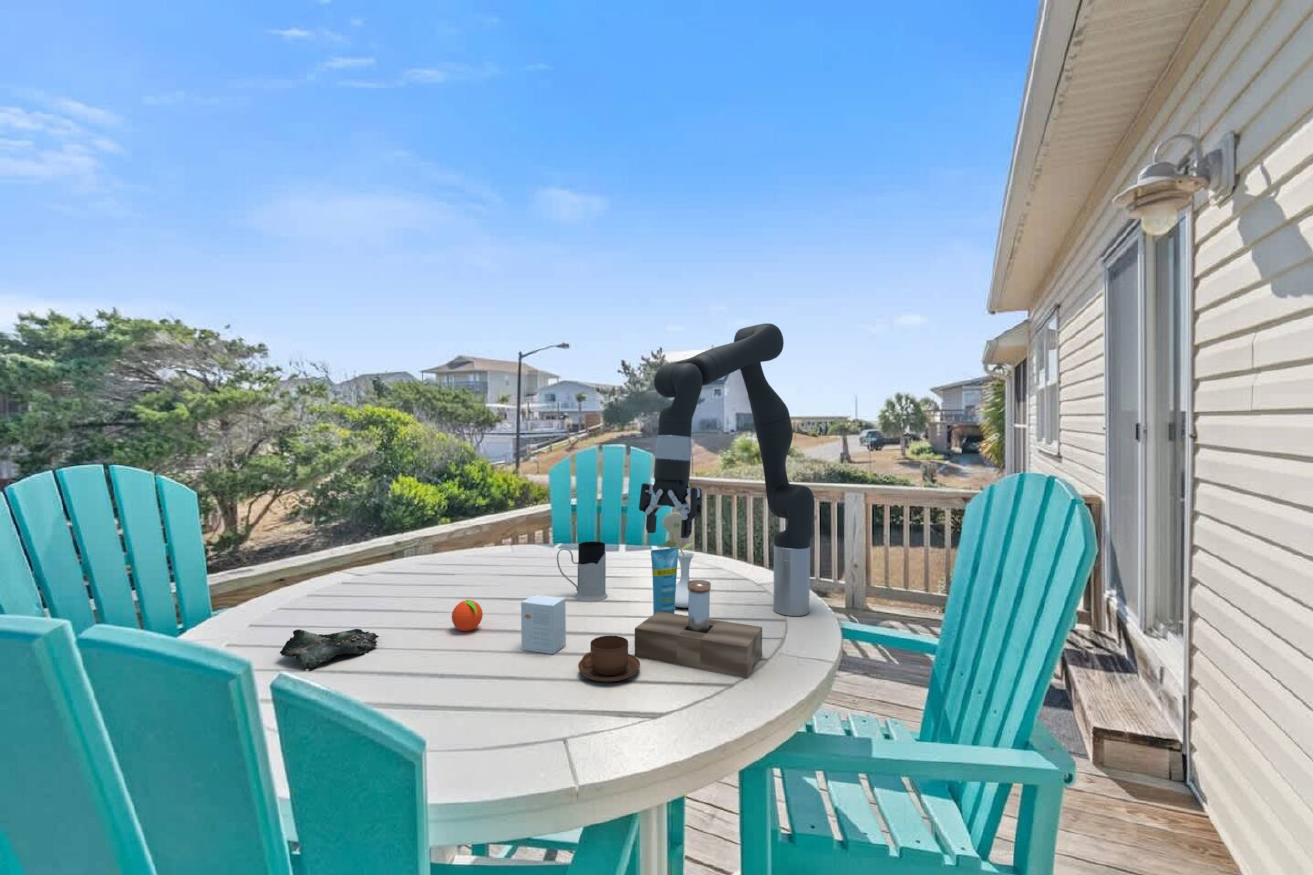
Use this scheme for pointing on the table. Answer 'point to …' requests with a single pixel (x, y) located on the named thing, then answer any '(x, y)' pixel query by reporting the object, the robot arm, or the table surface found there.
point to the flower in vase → (674, 526)
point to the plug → (698, 605)
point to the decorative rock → (326, 646)
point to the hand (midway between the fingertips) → (667, 535)
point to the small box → (543, 624)
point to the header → (699, 644)
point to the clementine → (467, 615)
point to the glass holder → (590, 571)
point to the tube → (664, 579)
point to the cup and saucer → (608, 660)
